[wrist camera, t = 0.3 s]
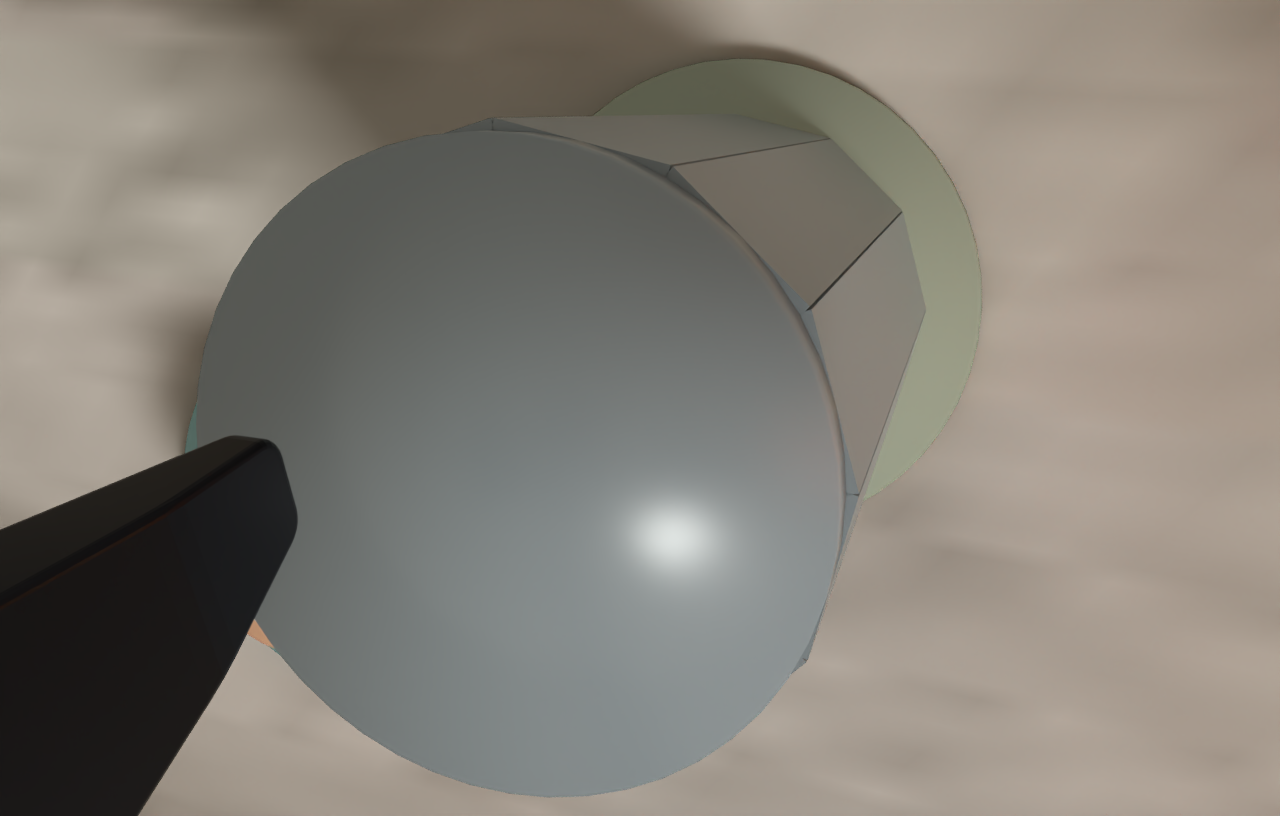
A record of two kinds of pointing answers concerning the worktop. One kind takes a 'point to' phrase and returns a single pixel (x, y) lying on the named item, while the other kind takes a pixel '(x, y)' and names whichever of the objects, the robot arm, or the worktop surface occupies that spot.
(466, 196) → the grey canister
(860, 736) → the worktop surface
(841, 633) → the worktop surface
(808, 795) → the worktop surface
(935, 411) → the mat
